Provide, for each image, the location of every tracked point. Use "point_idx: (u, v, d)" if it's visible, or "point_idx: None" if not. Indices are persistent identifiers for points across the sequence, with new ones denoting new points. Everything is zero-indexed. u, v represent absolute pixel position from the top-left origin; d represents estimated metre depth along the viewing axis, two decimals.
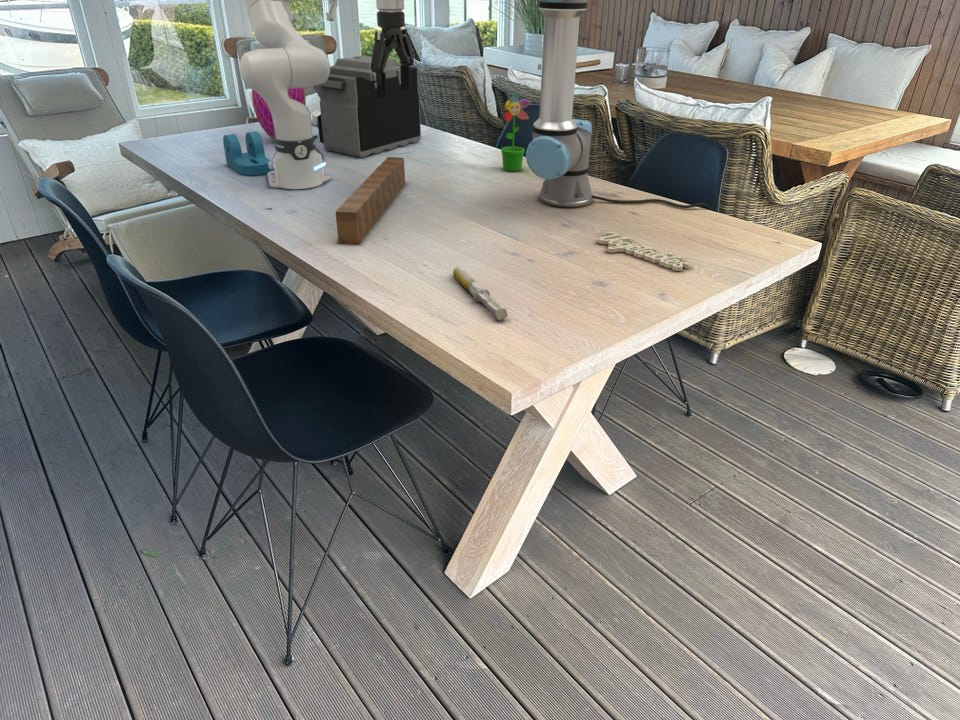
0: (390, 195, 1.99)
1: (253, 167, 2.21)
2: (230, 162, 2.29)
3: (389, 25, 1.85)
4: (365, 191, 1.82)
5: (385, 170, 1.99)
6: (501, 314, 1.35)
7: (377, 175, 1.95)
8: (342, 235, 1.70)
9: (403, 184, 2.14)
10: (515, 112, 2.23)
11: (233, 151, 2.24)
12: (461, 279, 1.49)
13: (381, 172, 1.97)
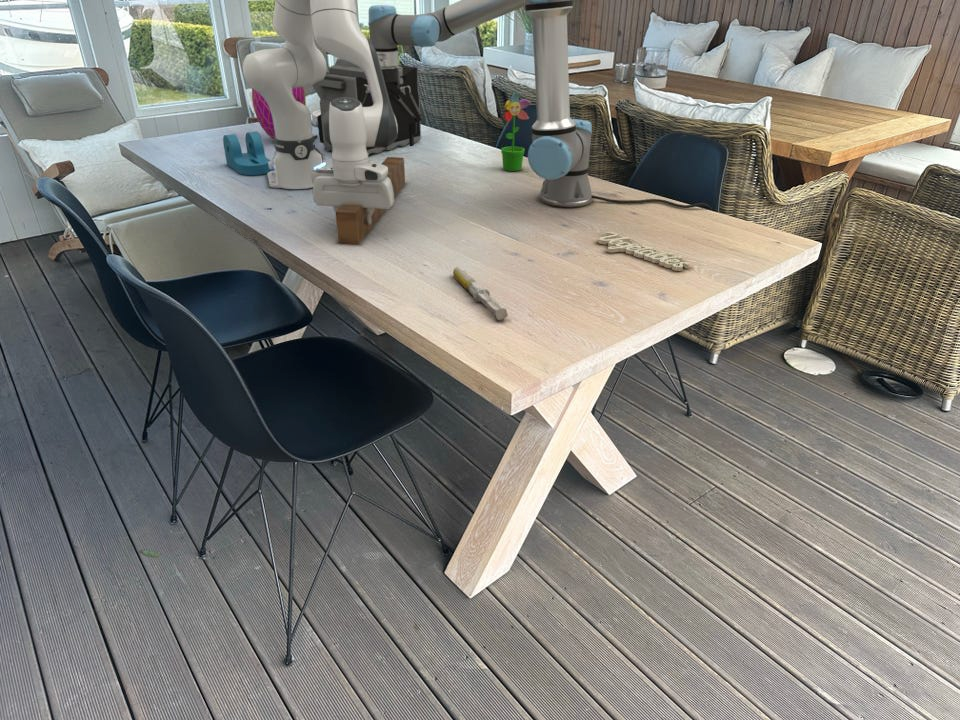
0: None
1: (253, 167, 2.21)
2: (230, 162, 2.29)
3: None
4: None
5: None
6: (501, 314, 1.35)
7: None
8: (342, 235, 1.70)
9: (403, 184, 2.14)
10: (515, 112, 2.23)
11: (233, 151, 2.24)
12: (461, 279, 1.49)
13: None
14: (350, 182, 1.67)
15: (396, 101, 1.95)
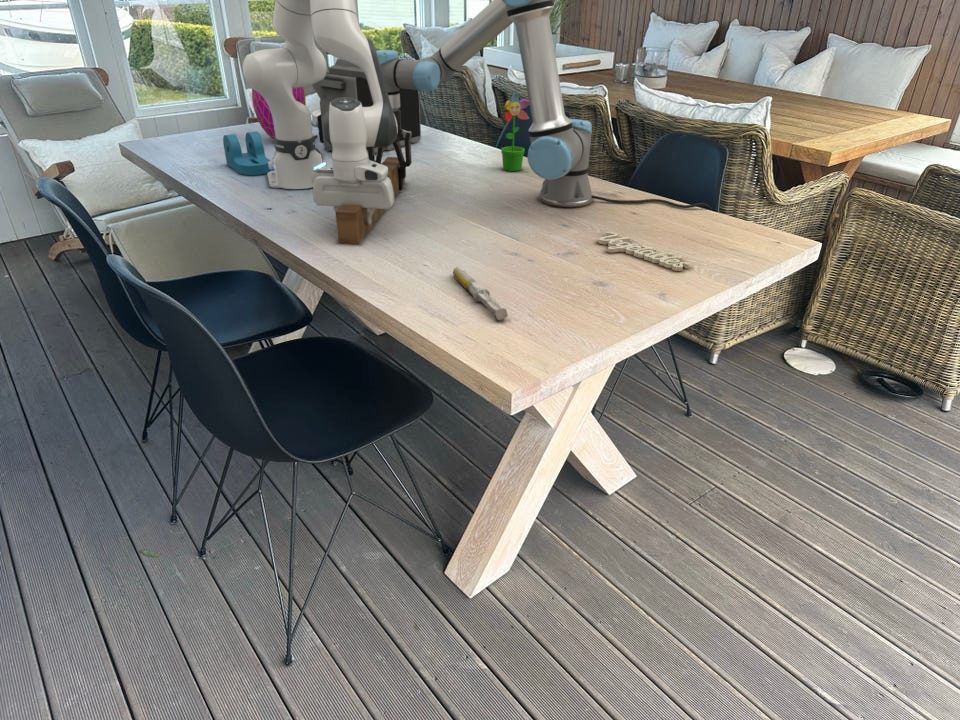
0: None
1: (253, 167, 2.21)
2: (230, 162, 2.29)
3: None
4: None
5: None
6: (501, 314, 1.35)
7: None
8: (342, 235, 1.70)
9: (403, 184, 2.14)
10: (515, 112, 2.23)
11: (233, 151, 2.24)
12: (461, 279, 1.49)
13: None
14: (350, 182, 1.67)
15: (394, 143, 2.01)
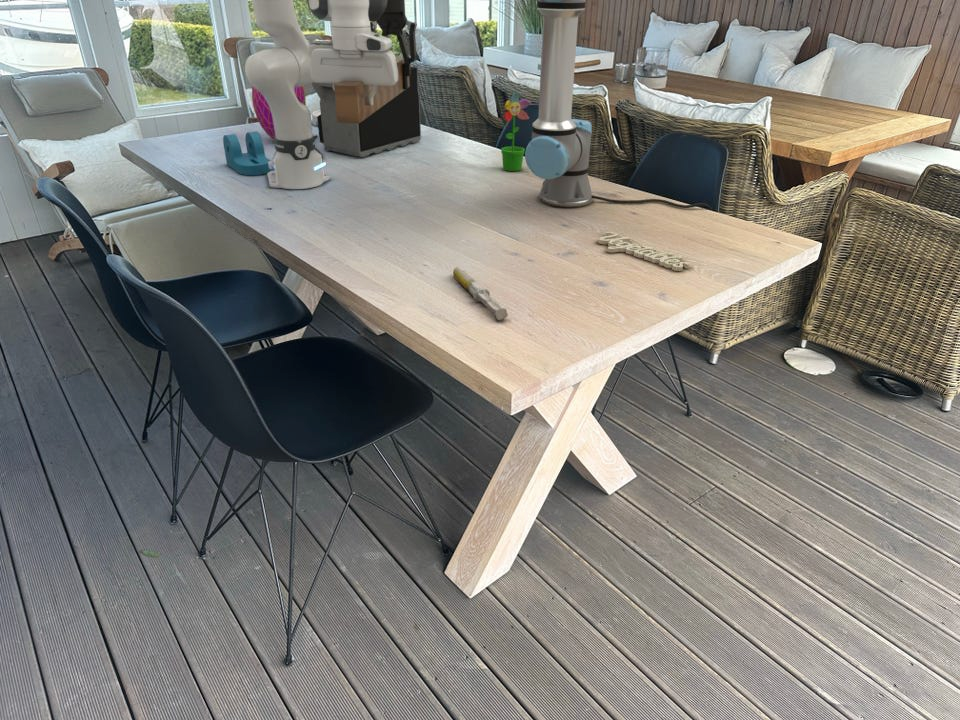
0: (393, 89, 1.85)
1: (253, 167, 2.21)
2: (230, 162, 2.29)
3: None
4: None
5: None
6: (501, 314, 1.35)
7: None
8: (342, 113, 1.57)
9: None
10: (515, 112, 2.23)
11: (233, 151, 2.24)
12: (461, 279, 1.49)
13: None
14: (351, 53, 1.54)
15: (398, 35, 1.88)
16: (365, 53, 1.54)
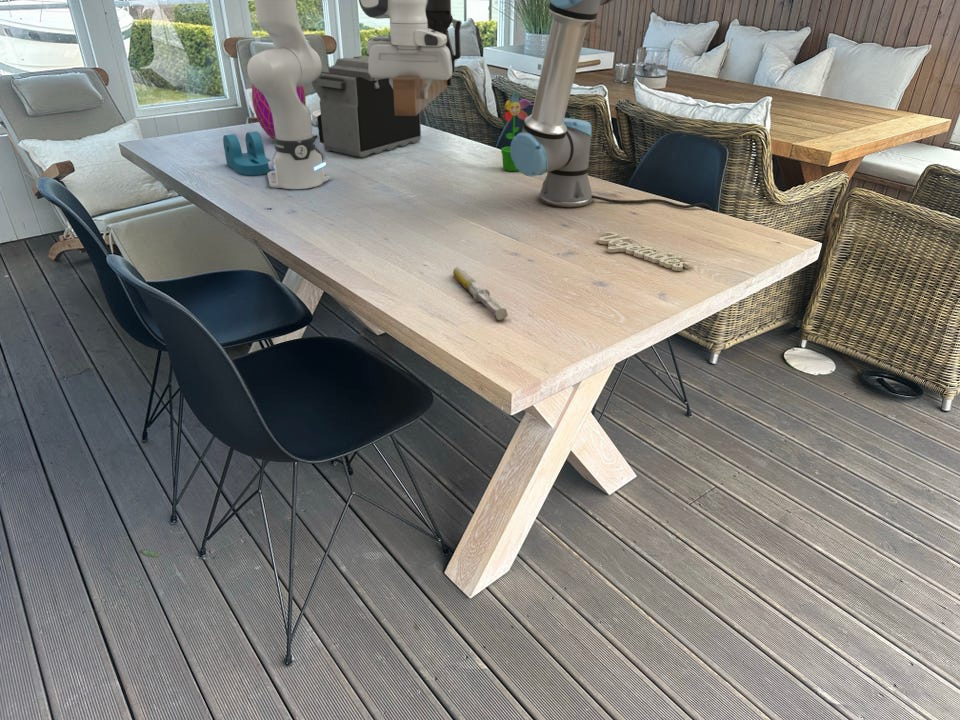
0: (440, 85, 1.92)
1: (253, 167, 2.21)
2: (230, 162, 2.29)
3: None
4: None
5: None
6: (501, 314, 1.35)
7: None
8: (399, 106, 1.63)
9: None
10: (515, 112, 2.23)
11: (233, 151, 2.24)
12: (461, 279, 1.49)
13: None
14: (408, 48, 1.60)
15: (444, 33, 1.95)
16: (422, 48, 1.60)
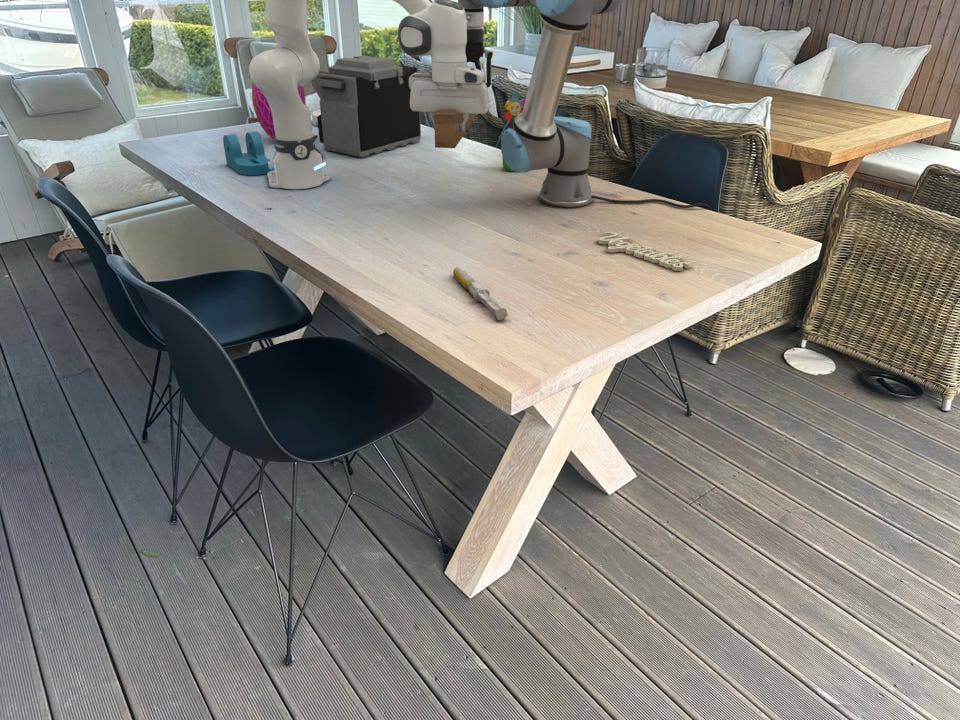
0: None
1: (253, 167, 2.21)
2: (230, 162, 2.29)
3: None
4: None
5: None
6: (501, 314, 1.35)
7: None
8: (439, 139, 1.73)
9: None
10: (515, 112, 2.23)
11: (233, 151, 2.24)
12: (461, 279, 1.49)
13: None
14: (449, 85, 1.70)
15: (476, 63, 2.04)
16: (462, 85, 1.70)
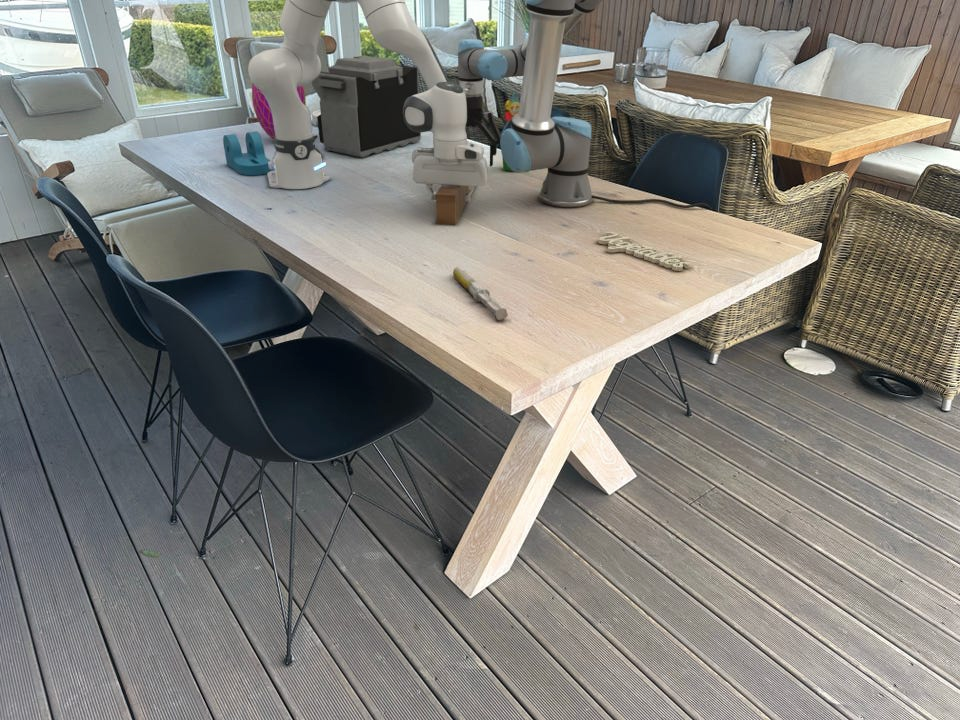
0: None
1: (253, 167, 2.21)
2: (230, 162, 2.29)
3: None
4: None
5: None
6: (501, 314, 1.35)
7: None
8: (441, 217, 1.83)
9: None
10: (515, 112, 2.23)
11: (233, 151, 2.24)
12: (461, 279, 1.49)
13: None
14: (450, 161, 1.79)
15: (480, 125, 2.13)
16: (462, 161, 1.79)
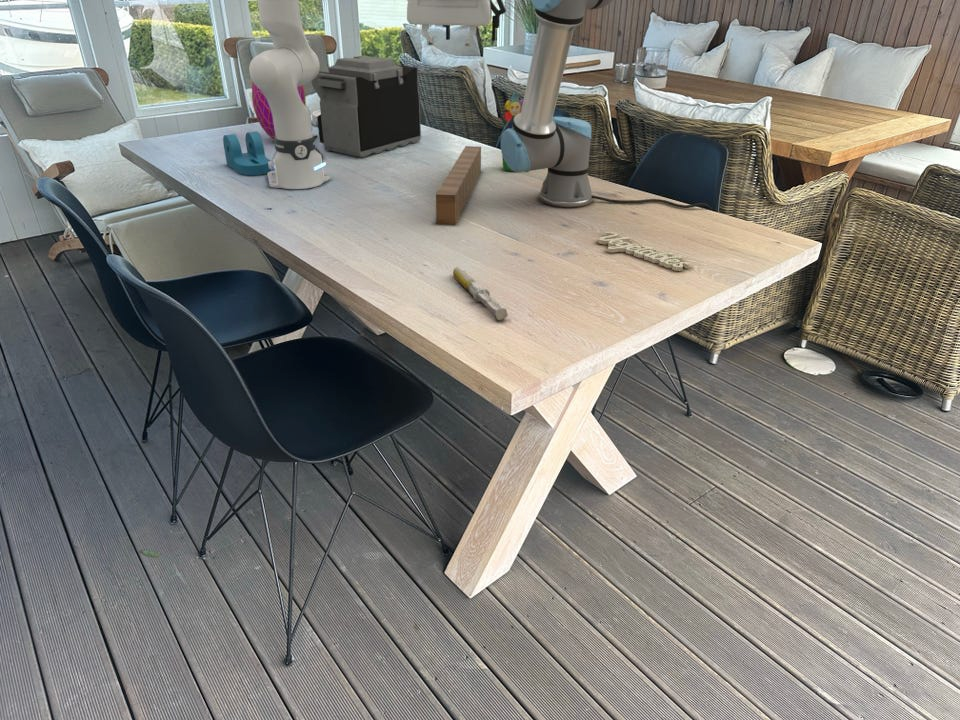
0: (472, 181, 2.12)
1: (253, 167, 2.21)
2: (230, 162, 2.29)
3: None
4: (456, 176, 1.95)
5: (468, 158, 2.12)
6: (501, 314, 1.35)
7: (461, 162, 2.08)
8: (441, 217, 1.83)
9: (479, 172, 2.27)
10: (515, 112, 2.23)
11: (233, 151, 2.24)
12: (461, 279, 1.49)
13: (465, 160, 2.10)
14: None
15: None
16: None
